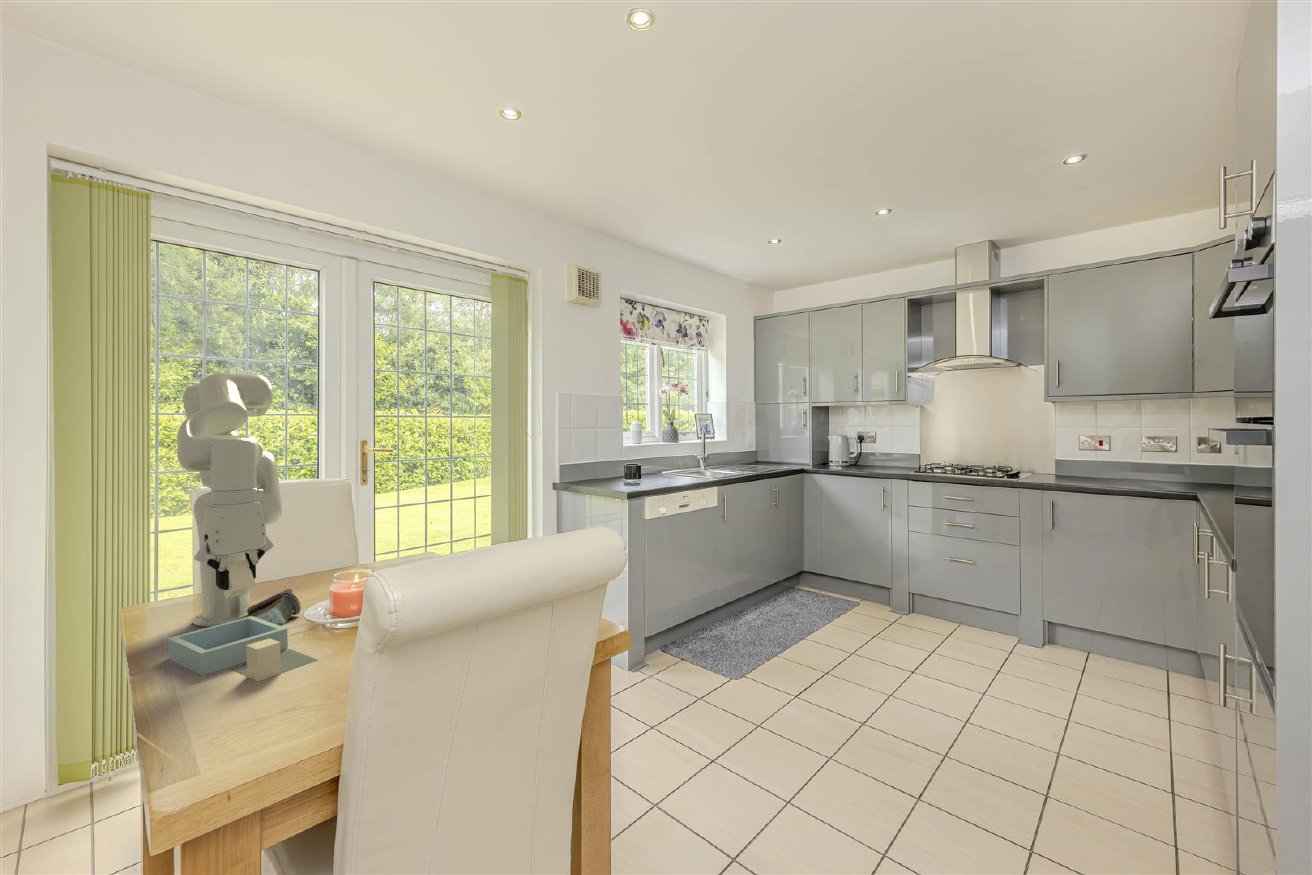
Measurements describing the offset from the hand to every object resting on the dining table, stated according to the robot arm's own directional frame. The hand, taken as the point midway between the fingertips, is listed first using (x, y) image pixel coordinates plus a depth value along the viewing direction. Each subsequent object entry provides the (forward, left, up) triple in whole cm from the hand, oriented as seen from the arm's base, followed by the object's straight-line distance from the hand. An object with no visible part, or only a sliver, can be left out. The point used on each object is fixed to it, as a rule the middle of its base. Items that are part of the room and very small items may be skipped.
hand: (236, 585), depth 116 cm
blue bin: (-3, 0, -15) cm, 15 cm away
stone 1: (+2, 0, -1) cm, 2 cm away
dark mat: (+11, +2, -15) cm, 19 cm away
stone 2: (+15, -2, -15) cm, 21 cm away
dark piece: (-16, +13, -15) cm, 26 cm away
